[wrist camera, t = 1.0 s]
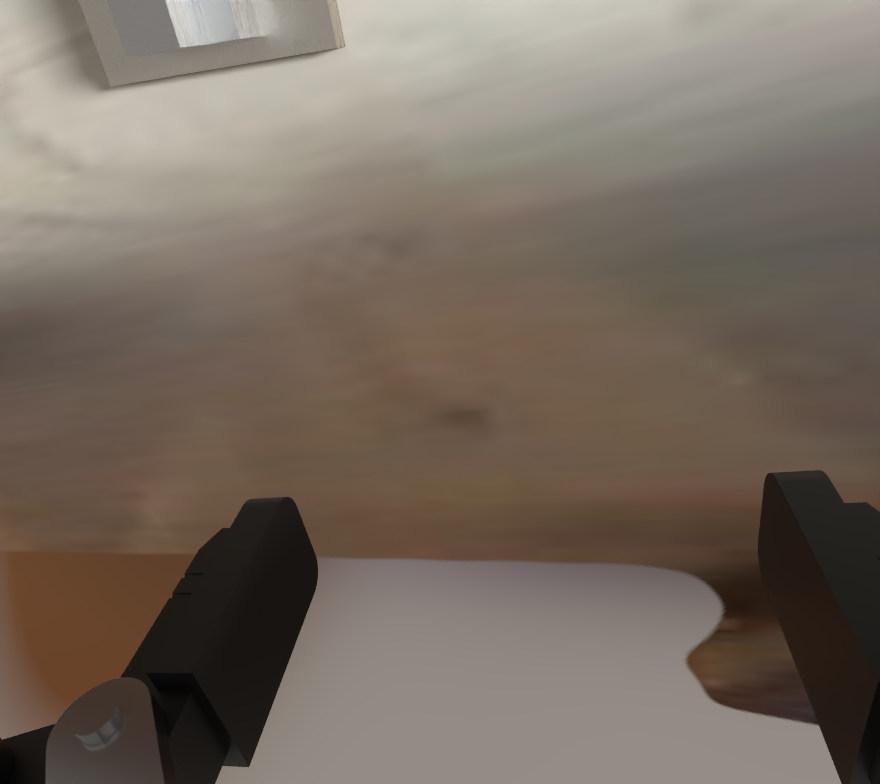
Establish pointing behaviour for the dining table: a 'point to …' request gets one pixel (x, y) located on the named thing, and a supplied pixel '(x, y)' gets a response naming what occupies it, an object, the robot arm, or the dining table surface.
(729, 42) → the dining table surface
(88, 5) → the ridge
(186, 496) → the dining table surface
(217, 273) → the dining table surface
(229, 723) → the robot arm
